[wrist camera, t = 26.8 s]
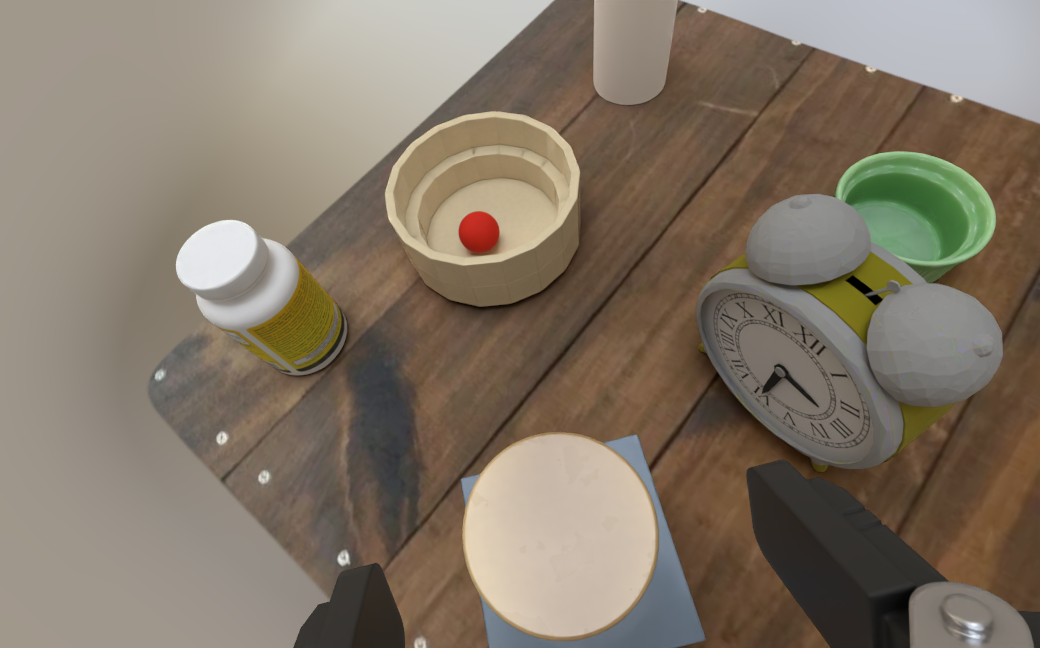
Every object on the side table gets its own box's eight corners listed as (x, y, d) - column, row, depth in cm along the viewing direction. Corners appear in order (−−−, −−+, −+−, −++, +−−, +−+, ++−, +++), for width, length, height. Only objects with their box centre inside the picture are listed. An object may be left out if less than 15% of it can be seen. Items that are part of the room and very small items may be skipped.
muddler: (534, 628, 21) (477, 663, 10) (514, 521, 22) (449, 453, 12) (636, 606, 21) (688, 616, 10) (608, 499, 22) (626, 412, 12)
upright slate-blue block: (524, 663, 29) (496, 693, 20) (495, 510, 32) (460, 478, 24) (669, 627, 29) (706, 640, 20) (623, 478, 32) (637, 433, 24)
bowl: (423, 330, 39) (397, 287, 33) (402, 191, 45) (376, 136, 39) (601, 285, 39) (604, 235, 33) (555, 152, 45) (551, 92, 39)
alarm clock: (673, 350, 36) (724, 204, 22) (750, 295, 37) (841, 125, 24) (812, 499, 31) (985, 425, 17) (896, 430, 32) (1116, 310, 19)
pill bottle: (354, 297, 40) (279, 202, 31) (345, 374, 38) (260, 296, 28) (275, 305, 41) (177, 213, 31) (260, 381, 38) (147, 307, 28)
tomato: (485, 196, 38) (506, 221, 41) (450, 212, 40) (472, 236, 42) (486, 227, 37) (508, 251, 39) (450, 243, 38) (473, 266, 40)
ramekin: (919, 186, 39) (955, 141, 35) (978, 291, 35) (1027, 253, 31) (794, 203, 40) (816, 161, 36) (838, 309, 36) (869, 274, 32)
